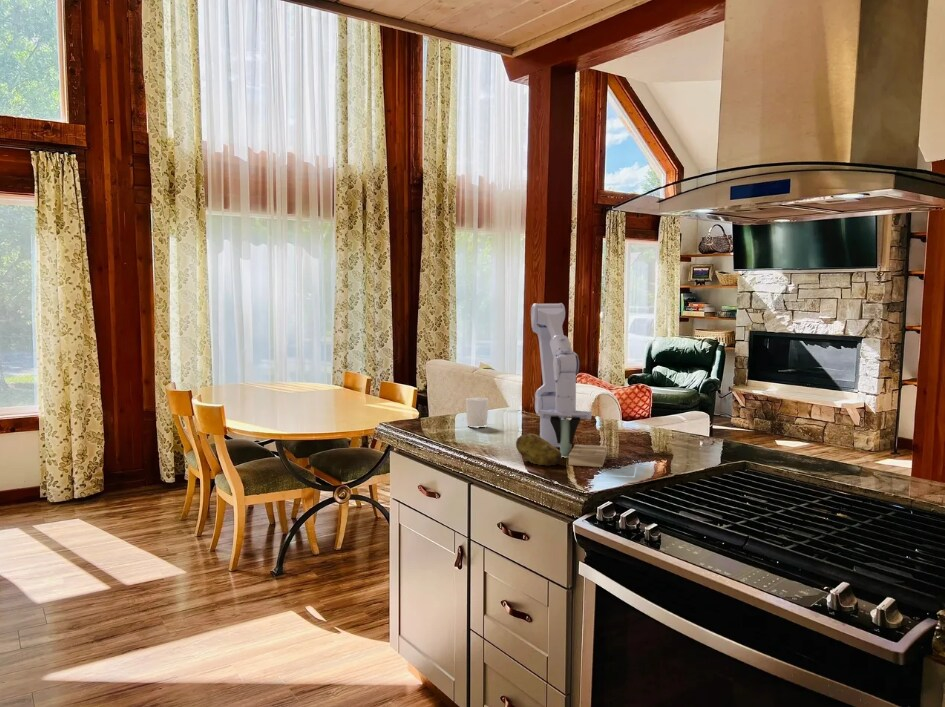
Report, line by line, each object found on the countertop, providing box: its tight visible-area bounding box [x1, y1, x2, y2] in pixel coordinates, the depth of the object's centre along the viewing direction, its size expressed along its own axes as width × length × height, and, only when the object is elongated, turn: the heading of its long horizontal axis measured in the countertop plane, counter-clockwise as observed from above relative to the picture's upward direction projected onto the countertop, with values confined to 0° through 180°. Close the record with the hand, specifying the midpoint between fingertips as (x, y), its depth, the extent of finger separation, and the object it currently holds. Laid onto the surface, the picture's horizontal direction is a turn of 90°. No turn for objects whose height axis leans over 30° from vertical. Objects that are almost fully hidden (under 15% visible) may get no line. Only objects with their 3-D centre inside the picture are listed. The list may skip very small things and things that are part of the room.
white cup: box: [465, 396, 489, 427], centre depth 250 cm, size 8×8×10 cm
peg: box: [559, 418, 572, 456], centre depth 204 cm, size 3×3×10 cm
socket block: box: [568, 444, 607, 468], centre depth 198 cm, size 14×9×3 cm, turn 165°
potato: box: [515, 432, 562, 467], centre depth 194 cm, size 8×13×8 cm, turn 36°
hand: (565, 443), depth 204 cm, fingers closed on peg, 3 cm apart
